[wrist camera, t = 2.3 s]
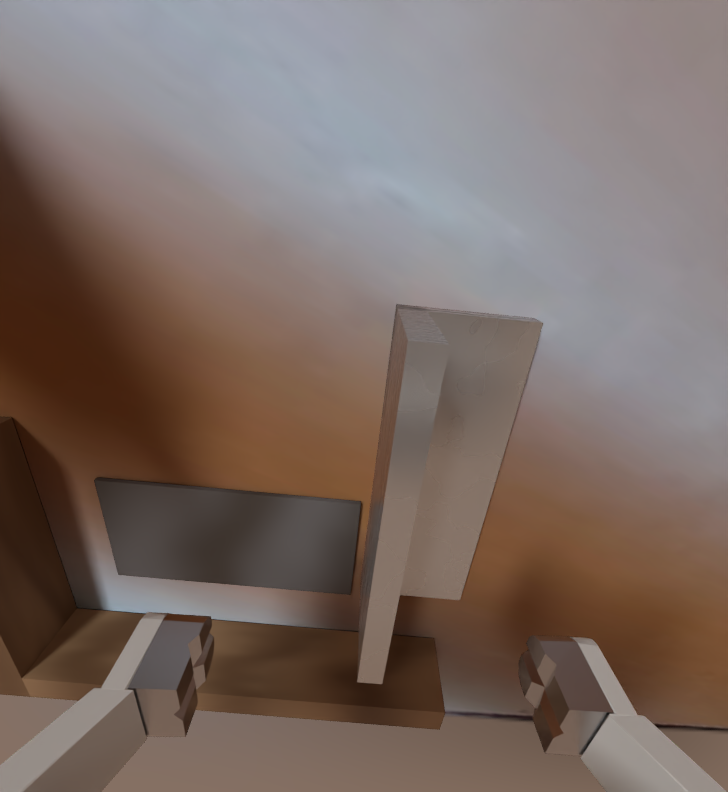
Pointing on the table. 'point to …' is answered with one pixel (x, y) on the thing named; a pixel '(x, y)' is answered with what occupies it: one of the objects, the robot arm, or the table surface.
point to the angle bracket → (436, 459)
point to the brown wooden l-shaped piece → (202, 562)
